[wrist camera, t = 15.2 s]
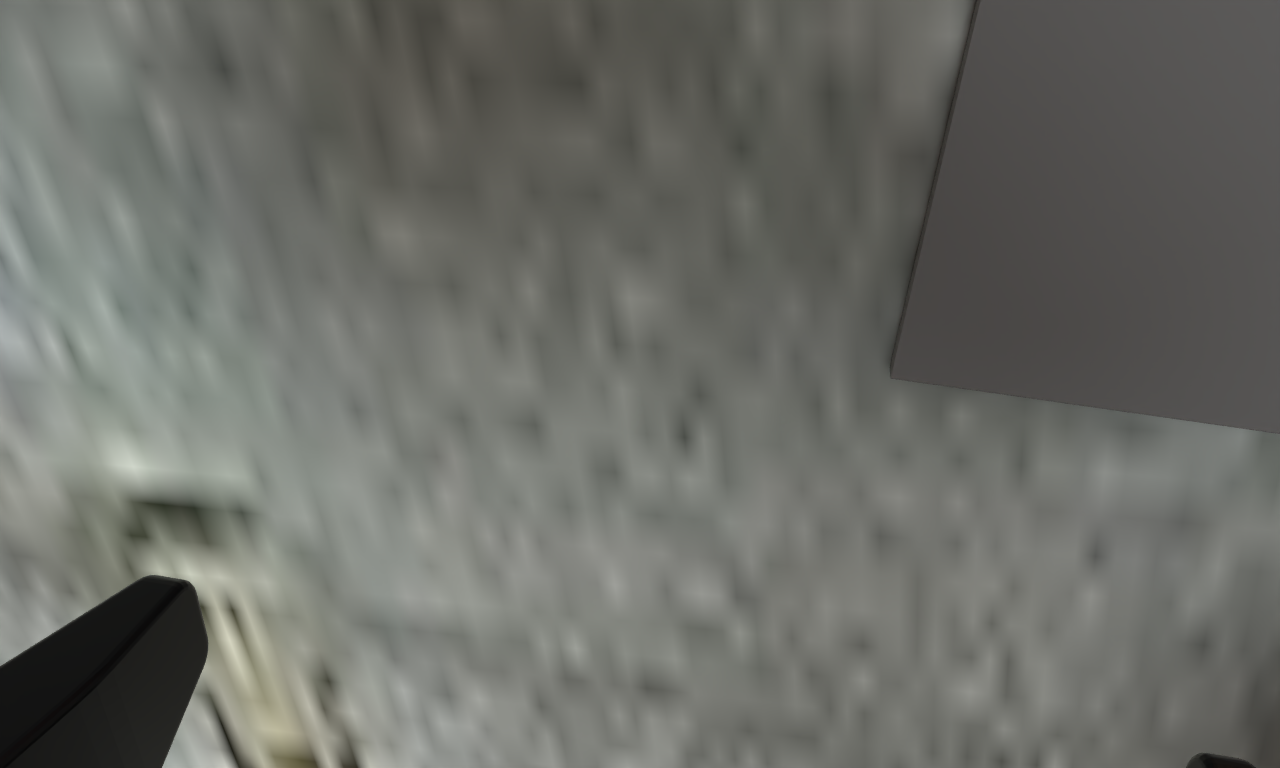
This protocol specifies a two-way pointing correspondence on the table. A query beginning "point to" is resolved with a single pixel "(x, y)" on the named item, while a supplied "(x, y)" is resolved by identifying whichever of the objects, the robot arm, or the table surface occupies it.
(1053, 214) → the mat
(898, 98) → the table surface
